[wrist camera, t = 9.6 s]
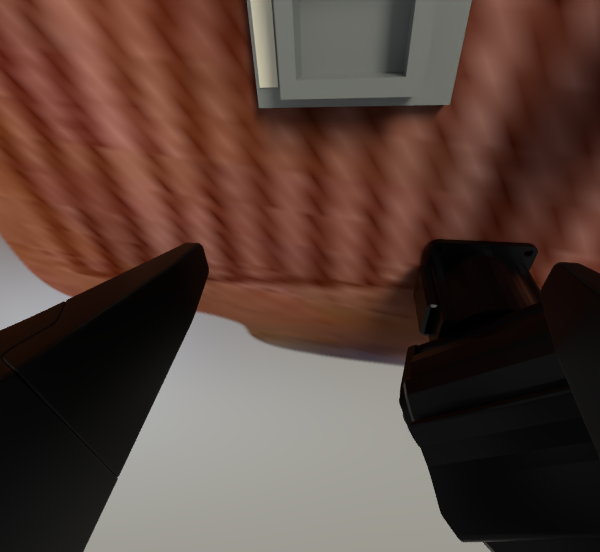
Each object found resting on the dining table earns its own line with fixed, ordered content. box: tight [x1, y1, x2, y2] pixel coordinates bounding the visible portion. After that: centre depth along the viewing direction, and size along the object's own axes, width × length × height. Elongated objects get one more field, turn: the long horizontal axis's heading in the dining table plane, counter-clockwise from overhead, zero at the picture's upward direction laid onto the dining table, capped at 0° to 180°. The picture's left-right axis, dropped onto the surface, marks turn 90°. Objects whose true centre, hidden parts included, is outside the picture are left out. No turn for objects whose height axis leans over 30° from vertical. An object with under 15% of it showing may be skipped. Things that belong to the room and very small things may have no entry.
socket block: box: [247, 0, 472, 108], centre depth 14 cm, size 10×8×3 cm
